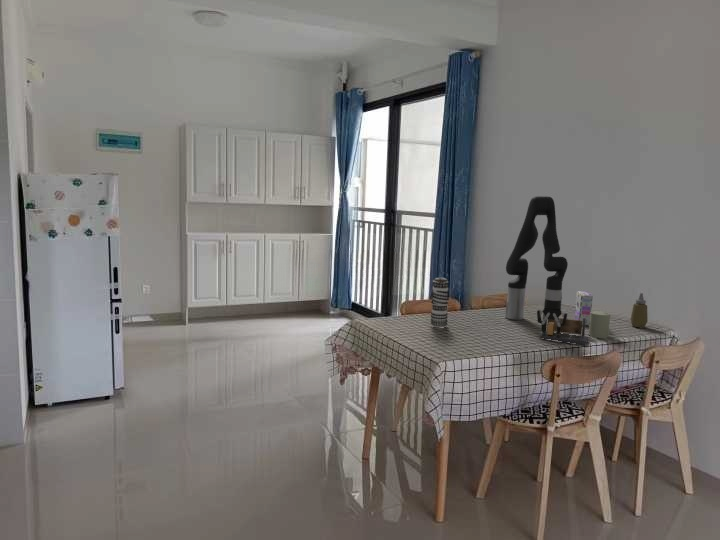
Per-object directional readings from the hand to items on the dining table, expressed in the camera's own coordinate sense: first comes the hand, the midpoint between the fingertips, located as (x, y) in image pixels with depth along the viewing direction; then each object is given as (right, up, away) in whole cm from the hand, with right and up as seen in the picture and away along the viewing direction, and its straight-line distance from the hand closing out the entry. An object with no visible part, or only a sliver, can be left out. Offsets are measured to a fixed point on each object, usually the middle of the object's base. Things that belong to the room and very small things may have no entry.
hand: (550, 332), depth 269 cm
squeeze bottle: (+55, 0, +27) cm, 61 cm away
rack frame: (+9, -2, +10) cm, 14 cm away
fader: (0, 0, 0) cm, 0 cm away
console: (+5, -3, -2) cm, 7 cm away
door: (+10, -1, +9) cm, 13 cm away
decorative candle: (-51, +1, +20) cm, 54 cm away
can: (+26, -3, +7) cm, 27 cm away
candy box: (+28, +1, +33) cm, 43 cm away
